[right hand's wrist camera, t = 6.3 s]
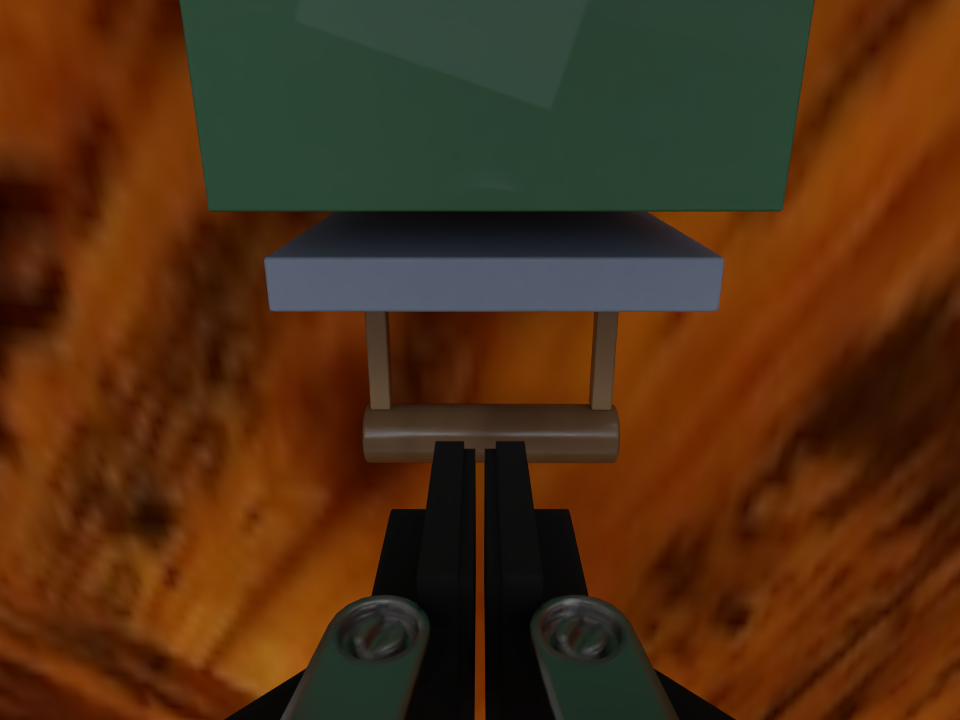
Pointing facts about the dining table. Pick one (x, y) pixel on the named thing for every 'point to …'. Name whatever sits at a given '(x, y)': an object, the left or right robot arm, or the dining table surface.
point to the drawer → (493, 307)
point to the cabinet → (496, 103)
